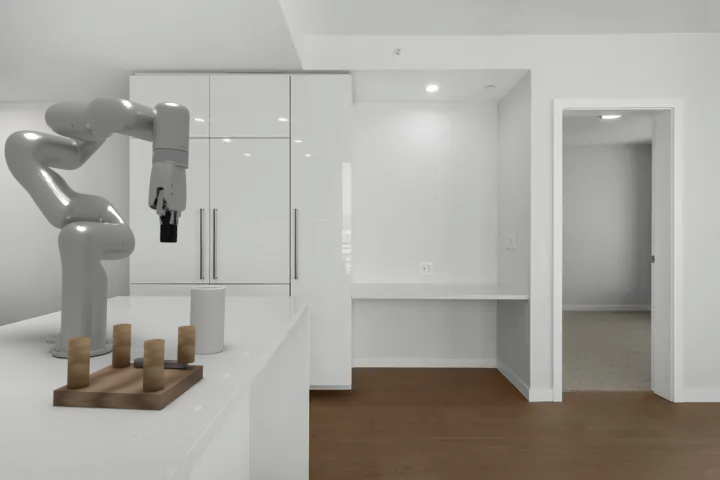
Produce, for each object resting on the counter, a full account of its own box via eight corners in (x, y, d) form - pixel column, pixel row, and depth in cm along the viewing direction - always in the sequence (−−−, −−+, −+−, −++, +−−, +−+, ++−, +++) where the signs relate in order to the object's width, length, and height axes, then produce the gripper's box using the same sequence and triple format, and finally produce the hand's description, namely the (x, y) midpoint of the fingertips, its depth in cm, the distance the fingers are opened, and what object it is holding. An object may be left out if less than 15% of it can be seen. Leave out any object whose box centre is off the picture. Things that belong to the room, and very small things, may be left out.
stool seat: (52, 405, 76) (54, 341, 76) (115, 374, 94) (117, 322, 94) (160, 409, 75) (161, 344, 75) (202, 377, 93) (204, 325, 93)
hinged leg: (130, 367, 89) (131, 326, 89) (138, 362, 93) (139, 324, 93) (190, 369, 89) (191, 328, 89) (197, 364, 92) (198, 325, 92)
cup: (204, 356, 111) (206, 289, 111) (182, 351, 115) (183, 286, 115) (230, 349, 118) (232, 287, 118) (208, 345, 122) (210, 284, 122)
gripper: (167, 165, 110) (165, 242, 110) (137, 153, 95) (135, 242, 95) (198, 166, 110) (196, 243, 110) (174, 154, 95) (172, 242, 95)
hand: (168, 242), depth 103 cm, fingers closed
